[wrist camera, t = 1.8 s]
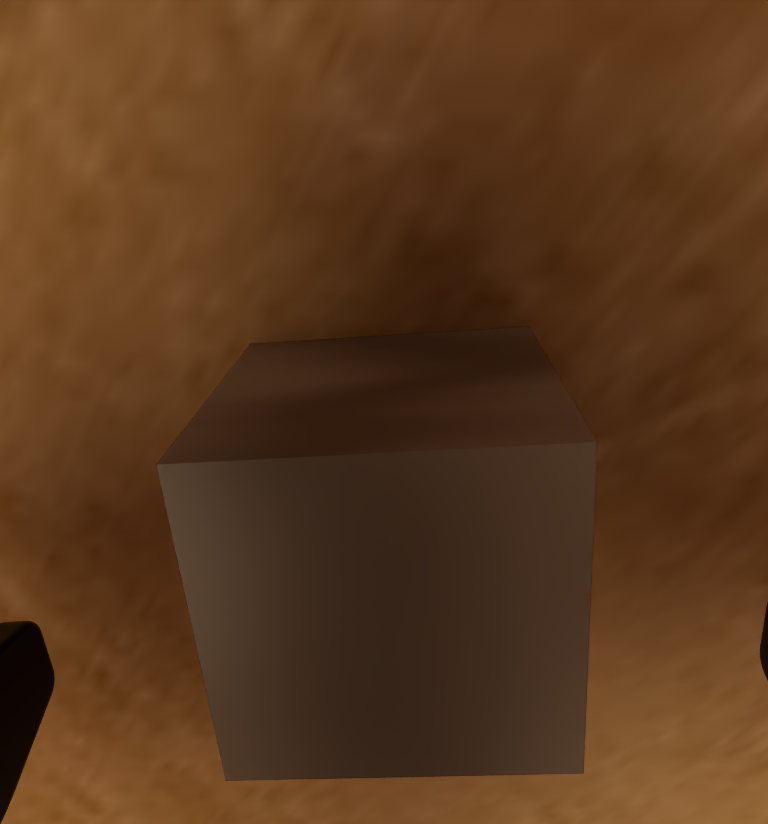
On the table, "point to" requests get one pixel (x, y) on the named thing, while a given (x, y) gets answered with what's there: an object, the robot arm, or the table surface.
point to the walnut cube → (389, 557)
